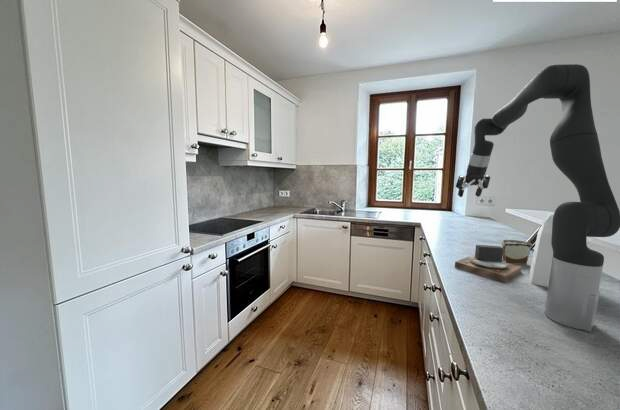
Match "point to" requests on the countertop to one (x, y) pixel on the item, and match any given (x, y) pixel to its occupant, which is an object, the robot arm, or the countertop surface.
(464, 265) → the wooden board
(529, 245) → the food container
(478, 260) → the dial
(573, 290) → the robot arm
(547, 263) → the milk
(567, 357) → the countertop surface
